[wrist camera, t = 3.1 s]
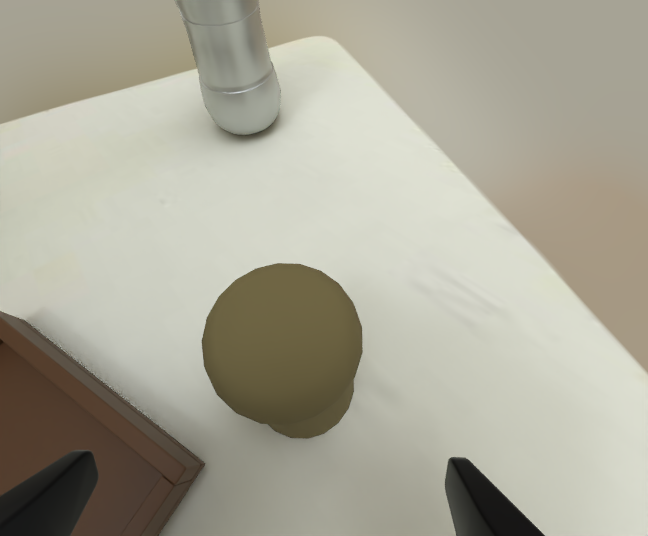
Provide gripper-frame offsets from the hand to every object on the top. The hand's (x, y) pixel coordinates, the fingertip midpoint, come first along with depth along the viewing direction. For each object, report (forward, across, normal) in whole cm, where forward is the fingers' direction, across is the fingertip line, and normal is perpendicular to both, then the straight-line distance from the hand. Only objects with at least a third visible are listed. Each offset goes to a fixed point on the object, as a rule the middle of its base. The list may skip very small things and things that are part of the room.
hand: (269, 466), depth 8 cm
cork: (+10, 0, +5) cm, 11 cm away
